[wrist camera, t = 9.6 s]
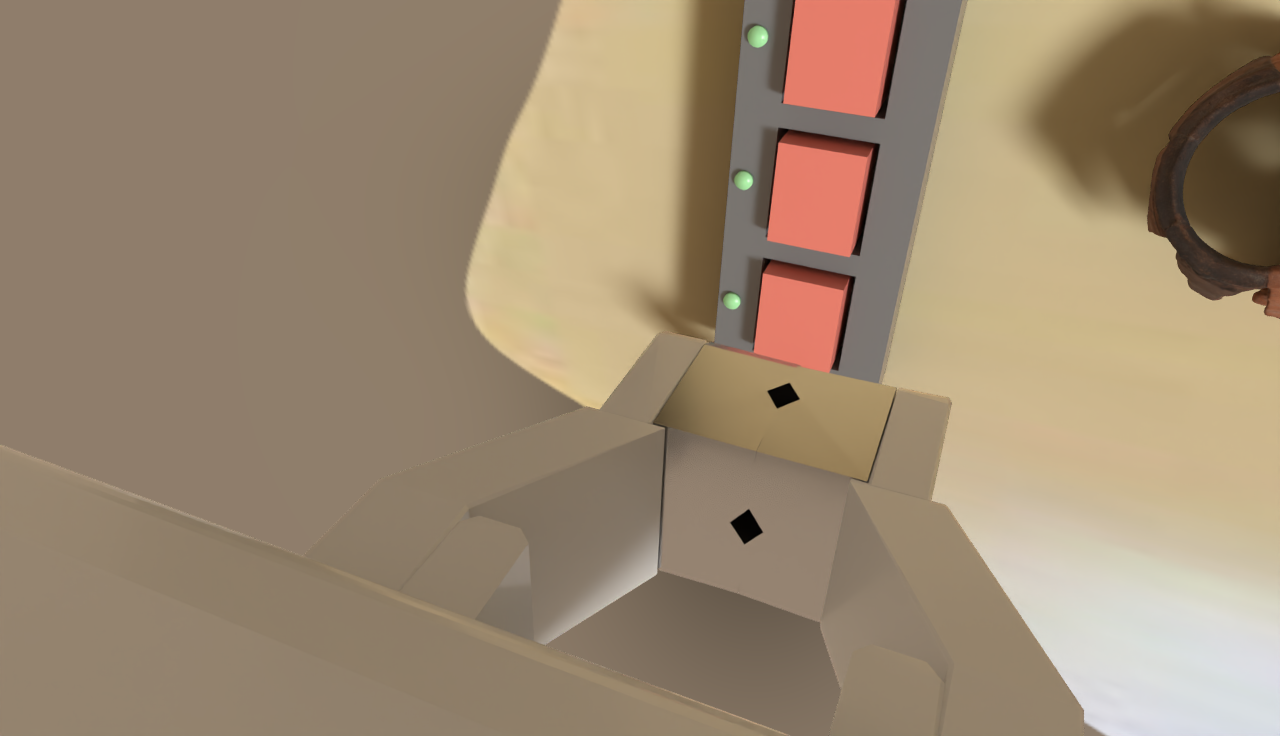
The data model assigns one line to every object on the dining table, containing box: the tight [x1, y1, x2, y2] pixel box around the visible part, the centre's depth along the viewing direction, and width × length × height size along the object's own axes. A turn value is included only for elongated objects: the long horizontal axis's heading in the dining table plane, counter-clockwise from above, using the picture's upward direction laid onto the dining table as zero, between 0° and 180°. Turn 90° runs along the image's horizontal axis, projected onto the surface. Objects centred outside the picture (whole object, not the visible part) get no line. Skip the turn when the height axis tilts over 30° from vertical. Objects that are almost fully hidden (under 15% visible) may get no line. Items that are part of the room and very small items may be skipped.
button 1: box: [783, 0, 905, 118], centre depth 35 cm, size 4×4×3 cm
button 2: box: [767, 129, 879, 257], centre depth 38 cm, size 4×4×3 cm
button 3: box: [754, 259, 855, 373], centre depth 42 cm, size 4×4×3 cm
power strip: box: [714, 0, 967, 384], centre depth 38 cm, size 24×8×3 cm, turn 178°
